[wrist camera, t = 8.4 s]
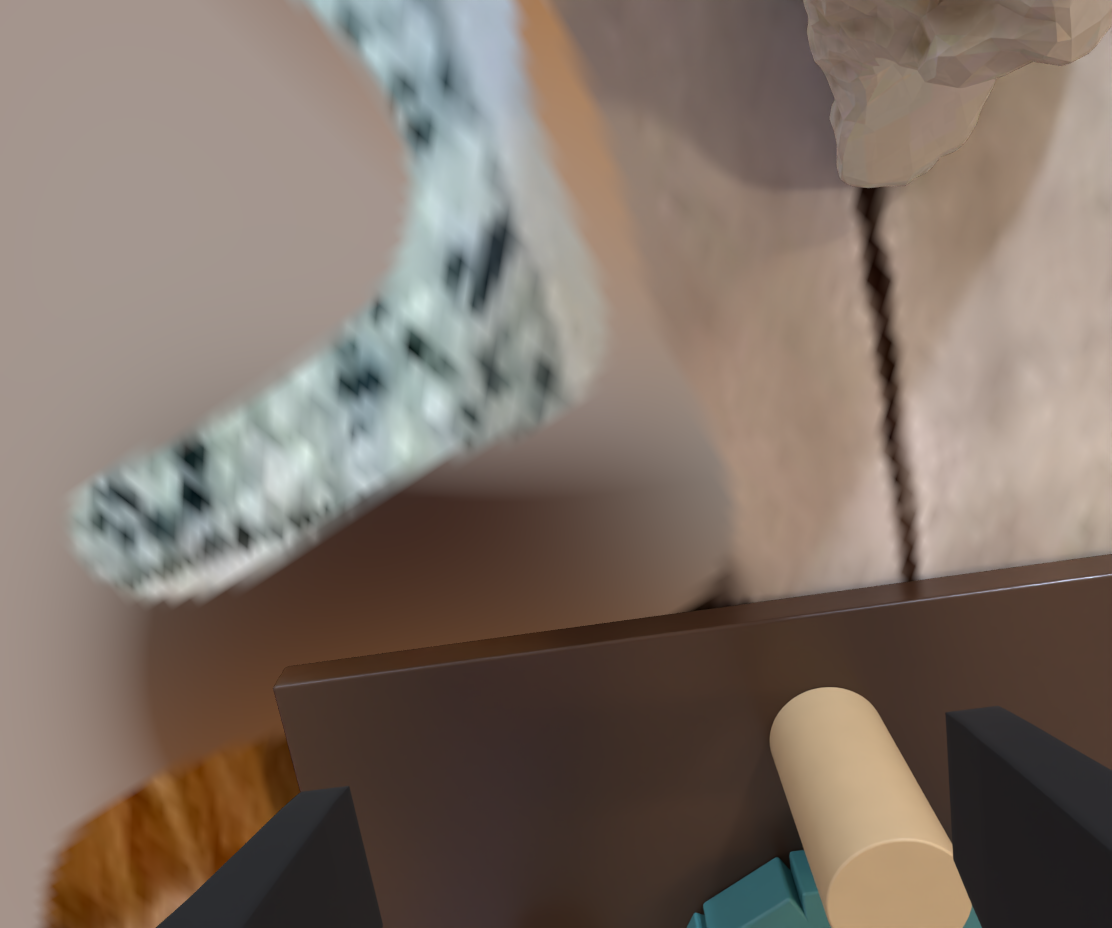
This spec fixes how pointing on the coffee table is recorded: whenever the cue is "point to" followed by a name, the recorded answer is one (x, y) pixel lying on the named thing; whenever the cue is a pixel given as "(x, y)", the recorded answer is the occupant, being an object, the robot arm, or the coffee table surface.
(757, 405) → the coffee table surface
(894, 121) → the decorative stone
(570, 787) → the rack
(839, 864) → the ring
